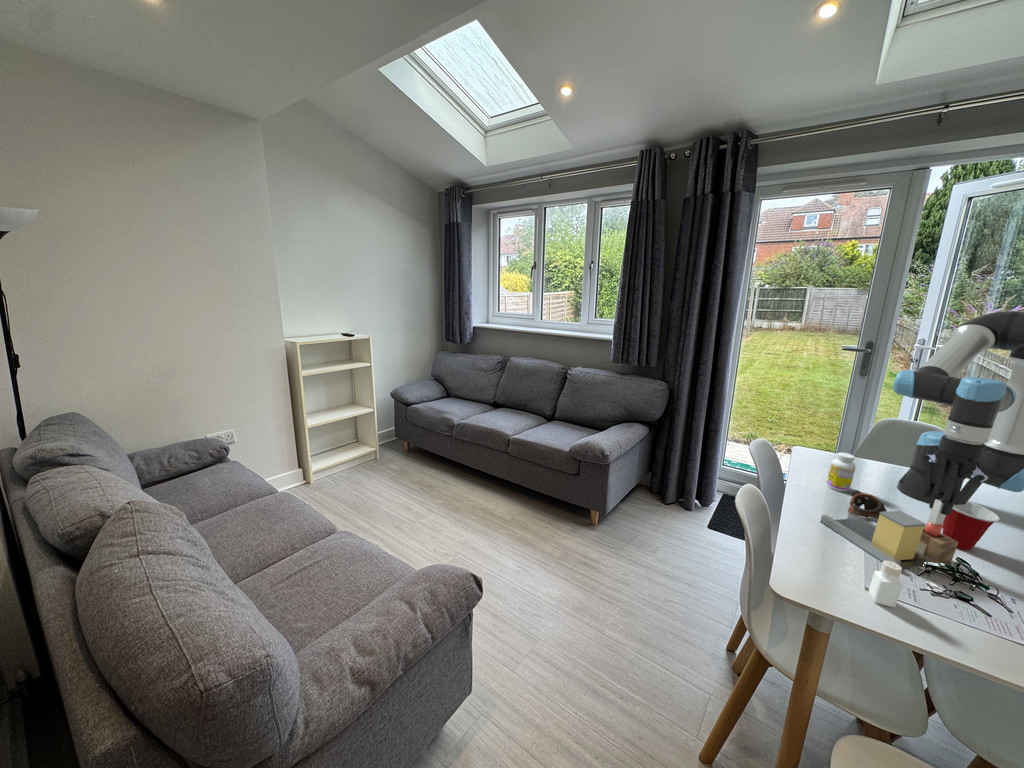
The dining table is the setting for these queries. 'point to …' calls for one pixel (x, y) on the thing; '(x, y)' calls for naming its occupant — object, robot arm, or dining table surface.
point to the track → (869, 539)
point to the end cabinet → (937, 547)
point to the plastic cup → (968, 524)
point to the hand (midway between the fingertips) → (935, 522)
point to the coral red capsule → (933, 529)
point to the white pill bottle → (886, 584)
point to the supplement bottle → (841, 472)
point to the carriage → (898, 534)
